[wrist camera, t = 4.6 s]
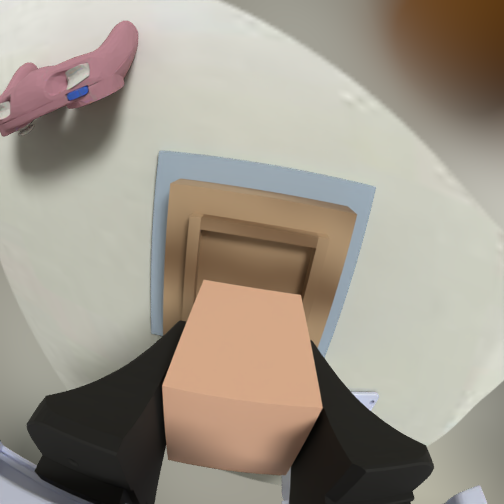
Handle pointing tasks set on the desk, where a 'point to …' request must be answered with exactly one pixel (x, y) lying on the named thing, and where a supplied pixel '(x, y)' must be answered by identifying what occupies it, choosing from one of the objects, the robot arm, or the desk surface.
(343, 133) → the desk surface
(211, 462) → the terracotta block
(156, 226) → the mat
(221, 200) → the walnut plinth
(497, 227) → the desk surface
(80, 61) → the video game controller
